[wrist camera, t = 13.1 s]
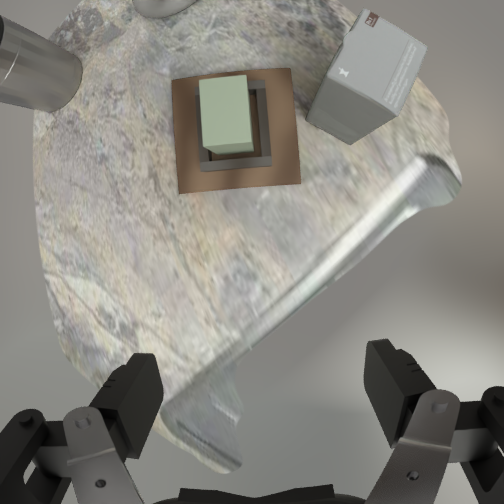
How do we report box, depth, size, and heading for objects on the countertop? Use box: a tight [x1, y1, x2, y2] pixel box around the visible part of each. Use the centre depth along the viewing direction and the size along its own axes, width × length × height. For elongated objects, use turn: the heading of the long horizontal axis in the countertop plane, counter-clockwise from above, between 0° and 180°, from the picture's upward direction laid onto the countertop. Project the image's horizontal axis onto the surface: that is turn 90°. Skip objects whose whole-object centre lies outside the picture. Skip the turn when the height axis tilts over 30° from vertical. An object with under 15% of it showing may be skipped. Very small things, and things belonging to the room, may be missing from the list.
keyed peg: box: [199, 75, 254, 155], centre depth 30 cm, size 6×4×10 cm, turn 4°
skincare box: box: [305, 9, 428, 145], centre depth 27 cm, size 8×7×16 cm
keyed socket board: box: [172, 68, 301, 194], centre depth 34 cm, size 14×14×4 cm
